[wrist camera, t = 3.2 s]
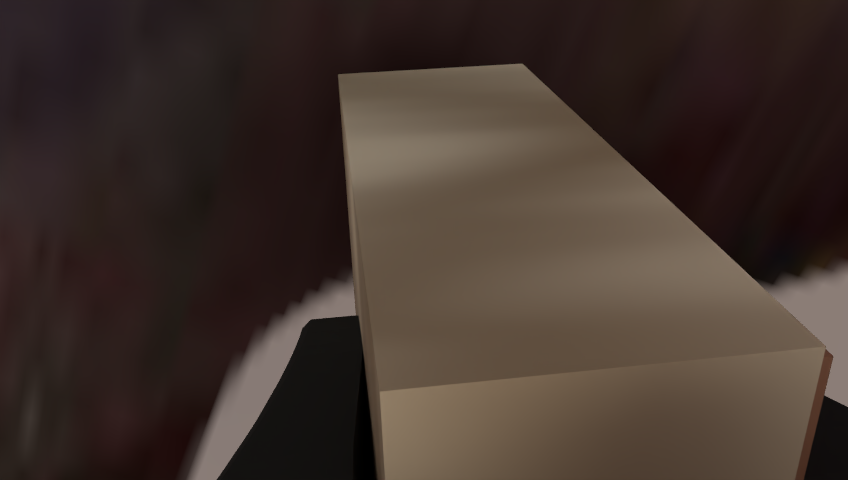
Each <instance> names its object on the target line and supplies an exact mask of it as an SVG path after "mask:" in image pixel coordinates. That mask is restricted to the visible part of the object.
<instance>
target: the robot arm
mask: <svg viewBox="0 0 848 480" xmlns="http://www.w3.org/2000/svg"><path fill="white" fill-rule="evenodd" d="M217 480H372V467H371V453H370V439H369V425H368V412H367V398H366V384H365V370H364V357H363V345H362V337H361V329H360V322H359V315H356V316H346V317H335V318H323V319H312V320H310V321H309V322H308V323H307V324H306V325H305V327H303V328H302V332H301V335H300V338H299V340H298V343H297V345H296V348H295V350H294V352H293V354H292V356H291V359H290V361H289V363H288V365H287V367H286V369H285V371H284V373H283V375H282V377H281V379H280V381H279V382H278V384H277V386H276V388H275V389H274V391H273V393H272V395H271V397H270V398H269V400H268V402H267V403H266V405H265V407H264V409H263V410H262V412H261V414H260V416H259V417H258V419H257V421H256V422H255V424H254V425H253V427H252V429H251V430H250V432H249V433H248V435H247V436H246V438H245V439H244V441H243V442H242V444H241V445H240V446H239V448H238V449H237V451H236V452H235V454H234V455H233V457H232V458H231V460H230V461H229V463H228V464H227V466H226V467H225V469H224V470H223V472H222V473H221V475H220V476H219V477H218V479H217ZM804 480H848V407H846V406H844V405H842V404H840V403H838V402H836V401H834V400H832V399H830V398H828V397H826V396H824V397H823V402H822V406H821V410H820V414H819V418H818V422H817V426H816V431H815V435H814V439H813V443H812V447H811V451H810V456H809V460H808V464H807V468H806V472H805V476H804Z"/></svg>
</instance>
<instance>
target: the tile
mask: <svg viewBox="0 0 848 480" xmlns="http://www.w3.org/2000/svg"><path fill="white" fill-rule="evenodd" d="M338 81H339V95H340V108H341V121H342V135H343V148H344V161H345V175H346V188H347V201H348V215H349V228H350V242H351V255H352V268H353V282H354V295H355V308H356V315H359V322H360V329H361V337H362V345H363V357H364V370H365V384H366V398H367V412H368V425H369V439H370V453H371V467H372V480H804V476H805V472H806V468H807V464H808V460H809V456H810V451H811V447H812V443H813V439H814V435H815V431H816V426H817V422H818V418H819V414H820V410H821V406H822V402H823V397H824V393H825V389H826V385H827V380H828V377H829V372H830V368H831V364H832V360H833V355H832V354H830V353H829V352H828V351H827V350H826V346H825V345H824V344H823V343H822V342H821V341H819V340H818V339H817V338H816V337H815V336H814V335H813V334H812V333H811V332H810V331H809V330H808V329H807V328H805V327H804V326H803V325H802V324H801V323H800V322H799V321H798V320H797V319H796V318H795V317H794V316H793V315H792V314H790V313H789V312H788V311H787V310H786V309H785V308H784V307H783V306H782V305H781V304H780V303H779V302H778V301H777V300H775V299H774V298H773V297H772V296H771V295H770V294H769V293H768V292H767V291H766V290H765V289H764V288H763V287H762V286H760V285H759V284H758V283H757V282H756V281H755V280H754V279H753V278H752V277H751V276H750V275H749V274H748V273H746V272H745V271H744V270H743V269H742V268H741V267H740V266H739V265H738V264H737V263H736V262H735V261H734V260H733V259H731V258H730V257H729V256H728V255H727V254H726V253H725V252H724V251H723V250H722V249H721V248H720V247H719V246H718V245H716V244H715V243H714V242H713V241H712V240H711V239H710V238H709V237H708V236H707V235H706V234H705V233H704V232H702V231H701V230H700V229H699V228H698V227H697V226H696V225H695V224H694V223H693V222H692V221H691V220H690V219H689V218H687V217H686V216H685V215H684V214H683V213H682V212H681V211H680V210H679V209H678V208H677V207H676V206H675V205H674V204H672V203H671V202H670V201H669V200H668V199H667V198H666V197H665V196H664V195H663V194H662V193H661V192H660V191H658V190H657V189H656V188H655V187H654V186H653V185H652V184H651V183H650V182H649V181H648V180H647V179H646V178H645V177H643V176H642V175H641V174H640V173H639V172H638V171H637V170H636V169H635V168H634V167H633V166H632V165H631V164H630V163H628V162H627V161H626V160H625V159H624V158H623V157H622V156H621V155H620V154H619V153H618V152H617V151H616V150H614V149H613V148H612V147H611V146H610V145H609V144H608V143H607V142H606V141H605V140H604V139H603V138H602V137H601V136H599V135H598V134H597V133H596V132H595V131H594V130H593V129H592V128H591V127H590V126H589V125H588V124H587V123H585V122H584V121H583V120H582V119H581V118H580V117H579V116H578V115H577V114H576V113H575V112H574V111H573V110H572V109H570V108H569V107H568V106H567V105H566V104H565V103H564V102H563V101H562V100H561V99H560V98H559V97H558V96H557V95H555V94H554V93H553V92H552V91H551V90H550V89H549V88H548V87H547V86H546V85H545V84H544V83H543V82H541V81H540V80H539V79H538V78H537V77H536V76H535V75H534V74H533V73H532V72H531V71H530V70H529V69H528V68H526V67H525V66H524V65H523V64H508V65H490V66H473V67H455V68H438V69H421V70H403V71H386V72H368V73H351V74H338Z"/></svg>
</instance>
